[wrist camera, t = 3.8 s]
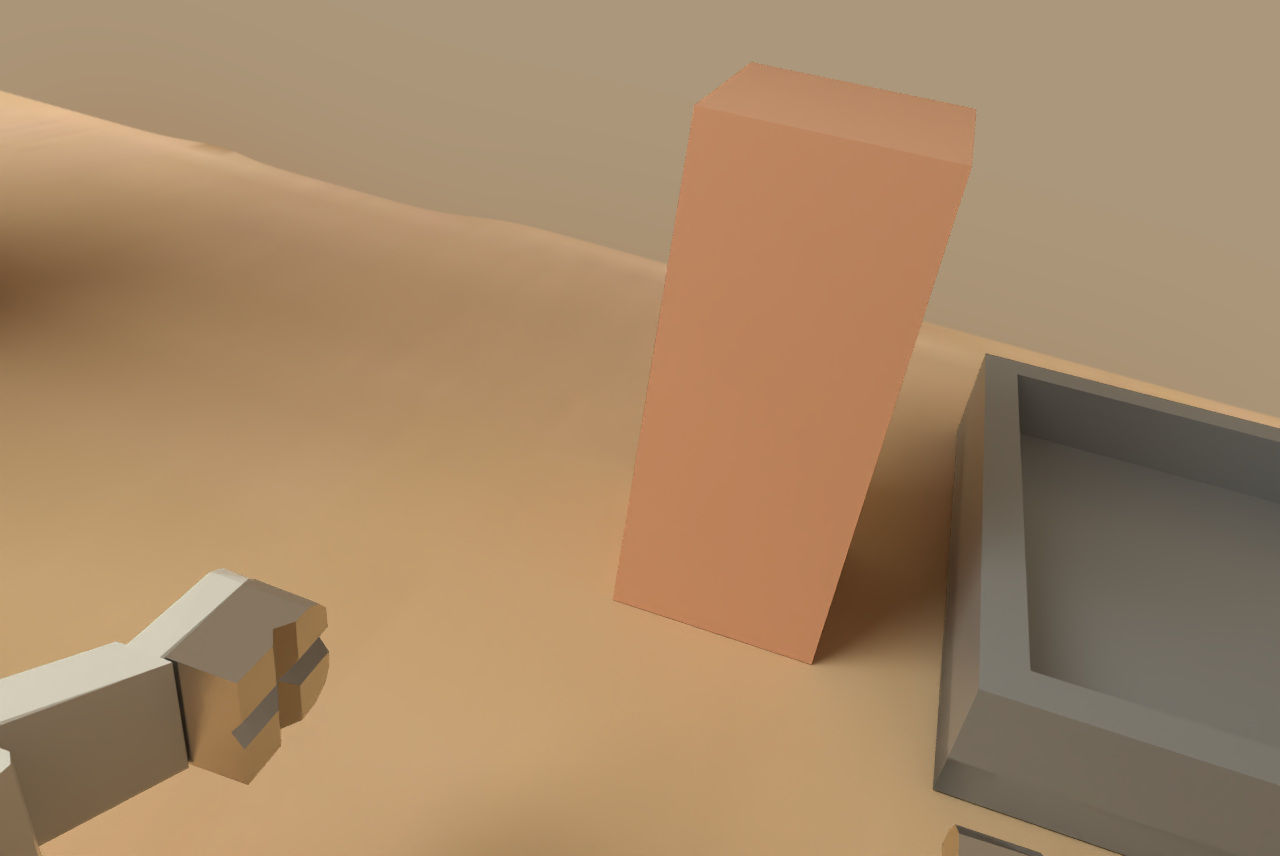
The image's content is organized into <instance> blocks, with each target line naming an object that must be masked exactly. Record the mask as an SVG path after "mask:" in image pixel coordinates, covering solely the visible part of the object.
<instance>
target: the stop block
mask: <svg viewBox="0 0 1280 856" xmlns="http://www.w3.org/2000/svg"><path fill="white" fill-rule="evenodd" d="M975 121H976V109H973V108H968V107H963V106H959V105H954V104H949V103H944V102H940V101H935V100H930V99H925V98H920V97H916V96H911V95H906V94H901V93H896V92H892V91H887V90H882V89H877V88H873V87H868V86H862V85H858V84H853V83H849V82H843V81H839V80H834V79H829V78H825V77H820V76H815V75H810V74H805V73H800V72H795V71H791V70H786V69H781V68H776V67H772V66H767V65H762V64H757V63H753V62H751V63H750V64H749V65H747V66H746V67H744V68H743V69H742V70H740V71H739V72H738V73H736V74H735V75H734V76H733V77H731V78H730V79H729V80H727V81H726V82H725V83H723V84H722V85H721V86H719V87H718V88H717V89H715V90H714V91H713V92H711V93H710V94H709V95H707V96H706V97H705V98H703V99H702V100H701V101H699V102H698V103H697V104H695V105H694V110H693V116H692V122H691V128H690V135H689V141H688V147H687V153H686V159H685V165H684V171H683V177H682V183H681V190H680V195H679V201H678V207H677V214H676V220H675V226H674V232H673V238H672V244H671V251H670V256H669V262H668V268H667V274H666V280H665V287H664V293H663V299H662V305H661V311H660V317H659V323H658V329H657V335H656V341H655V347H654V353H653V360H652V366H651V372H650V378H649V384H648V390H647V396H646V402H645V408H644V414H643V420H642V426H641V433H640V439H639V445H638V451H637V457H636V463H635V469H634V475H633V481H632V487H631V493H630V499H629V506H628V512H627V518H626V524H625V530H624V536H623V542H622V548H621V554H620V560H619V566H618V572H617V578H616V585H615V591H614V597H613V600H615V601H619V602H622V603H625V604H628V605H631V606H634V607H637V608H640V609H643V610H646V611H649V612H652V613H655V614H658V615H661V616H664V617H668V618H671V619H674V620H677V621H680V622H683V623H686V624H689V625H692V626H695V627H698V628H701V629H704V630H707V631H710V632H713V633H717V634H720V635H723V636H726V637H729V638H732V639H735V640H738V641H741V642H744V643H747V644H750V645H753V646H756V647H759V648H762V649H766V650H769V651H772V652H775V653H778V654H781V655H784V656H787V657H790V658H793V659H796V660H799V661H802V662H805V663H808V664H812V661H813V658H814V655H815V652H816V649H817V646H818V642H819V639H820V636H821V633H822V630H823V627H824V624H825V621H826V618H827V614H828V611H829V608H830V605H831V602H832V599H833V596H834V593H835V590H836V587H837V583H838V580H839V577H840V574H841V571H842V568H843V565H844V562H845V559H846V555H847V552H848V549H849V546H850V543H851V540H852V537H853V534H854V531H855V528H856V524H857V521H858V518H859V515H860V512H861V509H862V506H863V503H864V500H865V497H866V493H867V490H868V487H869V484H870V481H871V478H872V475H873V472H874V469H875V465H876V462H877V459H878V456H879V453H880V450H881V447H882V444H883V441H884V438H885V434H886V431H887V428H888V425H889V422H890V419H891V416H892V413H893V410H894V406H895V403H896V400H897V397H898V394H899V391H900V388H901V385H902V382H903V379H904V375H905V372H906V369H907V366H908V363H909V360H910V357H911V354H912V351H913V347H914V344H915V341H916V338H917V335H918V332H919V329H920V326H921V323H922V319H923V316H924V313H925V310H926V307H927V304H928V301H929V298H930V295H931V292H932V289H933V285H934V282H935V279H936V276H937V273H938V270H939V267H940V264H941V261H942V257H943V254H944V251H945V248H946V245H947V242H948V239H949V236H950V233H951V229H952V226H953V223H954V220H955V217H956V214H957V211H958V208H959V205H960V202H961V198H962V195H963V192H964V189H965V186H966V183H967V180H968V177H969V174H970V170H971V167H972V159H973V146H974V134H975Z"/></svg>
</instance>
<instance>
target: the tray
mask: <svg viewBox="0 0 1280 856" xmlns="http://www.w3.org/2000/svg"><path fill="white" fill-rule="evenodd" d="M933 790H936V791H939V792H942V793H945V794H948V795H951V796H954V797H957V798H960V799H962V800H965V801H968V802H971V803H974V804H977V805H980V806H983V807H986V808H989V809H992V810H994V811H997V812H1000V813H1003V814H1006V815H1009V816H1012V817H1015V818H1018V819H1021V820H1024V821H1026V822H1029V823H1032V824H1035V825H1038V826H1041V827H1044V828H1047V829H1050V830H1053V831H1056V832H1058V833H1061V834H1064V835H1067V836H1070V837H1073V838H1076V839H1079V840H1082V841H1085V842H1088V843H1090V844H1093V845H1096V846H1099V847H1102V848H1105V849H1108V850H1111V851H1114V852H1117V853H1120V854H1122V855H1125V856H1280V429H1279V428H1275V427H1271V426H1267V425H1263V424H1259V423H1256V422H1252V421H1248V420H1244V419H1240V418H1236V417H1232V416H1228V415H1224V414H1220V413H1217V412H1213V411H1209V410H1205V409H1201V408H1197V407H1193V406H1189V405H1185V404H1181V403H1178V402H1174V401H1170V400H1166V399H1162V398H1158V397H1154V396H1150V395H1146V394H1142V393H1138V392H1135V391H1131V390H1127V389H1123V388H1119V387H1115V386H1111V385H1107V384H1103V383H1099V382H1096V381H1092V380H1088V379H1084V378H1080V377H1076V376H1072V375H1068V374H1064V373H1060V372H1056V371H1053V370H1049V369H1045V368H1041V367H1037V366H1033V365H1029V364H1025V363H1021V362H1017V361H1014V360H1010V359H1006V358H1002V357H998V356H994V355H990V354H985V357H984V360H983V362H982V365H981V368H980V370H979V373H978V376H977V379H976V381H975V384H974V387H973V389H972V392H971V395H970V398H969V400H968V403H967V406H966V408H965V411H964V414H963V417H962V419H961V422H960V425H959V427H958V431H957V446H956V461H955V475H954V490H953V505H952V519H951V534H950V549H949V563H948V578H947V593H946V607H945V622H944V637H943V651H942V666H941V681H940V695H939V710H938V725H937V739H936V754H935V769H934V783H933Z"/></svg>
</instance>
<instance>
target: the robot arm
mask: <svg viewBox="0 0 1280 856" xmlns="http://www.w3.org/2000/svg"><path fill="white" fill-rule="evenodd" d="M327 627H328V624H327V613H326V607H324V606H322V605H320V604H318V603H316V602H313V601H310V600H308V599H305V598H302V597H300V596H297V595H295V594H292V593H289V592H287V591H284V590H281V589H279V588H276V587H274V586H271V585H268V584H266V583H263V582H260V581H258V580H255V579H251V578H249V577H246V576H243V575H241V574H238V573H235V572H232V571H230V570H227V569H224V568H220V569H217V570H214V571H212V572H209V573H208V574H207V575H205V576H204V577H203V578H202V579H201V580H200V581H199V582H197V583H196V584H195V585H194V586H193V587H192V588H191V589H190V590H188V591H187V592H186V593H185V594H184V595H183V596H182V597H180V598H179V599H178V600H177V601H176V602H175V603H174V604H172V605H171V606H170V607H169V608H168V609H167V610H166V611H164V612H163V613H162V614H161V615H160V616H159V617H158V618H156V619H155V620H154V621H153V622H152V623H151V624H150V625H148V626H147V627H146V628H145V629H144V630H143V631H142V632H140V633H139V634H138V635H137V636H136V637H135V638H134V639H132V640H131V641H130V642H129V643H128V644H127V645H126V644H123V643H120V642H117V641H116V642H113V643H110V644H107V645H104V646H101V647H98V648H95V649H92V650H89V651H86V652H82V653H79V654H76V655H73V656H70V657H67V658H64V659H61V660H58V661H55V662H52V663H49V664H45V665H42V666H39V667H36V668H33V669H30V670H27V671H24V672H21V673H18V674H15V675H11V676H8V677H5V678H2V679H0V856H42V855H41V852H40V849H39V846H40V845H42V844H44V843H46V842H48V841H50V840H52V839H54V838H56V837H57V836H59V835H61V834H63V833H65V832H67V831H69V830H71V829H73V828H75V827H77V826H78V825H80V824H82V823H84V822H86V821H88V820H90V819H92V818H94V817H96V816H97V815H99V814H101V813H103V812H105V811H107V810H109V809H111V808H113V807H115V806H117V805H118V804H120V803H122V802H124V801H126V800H128V799H130V798H132V797H134V796H136V795H138V794H139V793H141V792H143V791H145V790H147V789H149V788H151V787H153V786H155V785H157V784H159V783H160V782H162V781H164V780H166V779H168V778H170V777H172V776H174V775H176V774H178V773H180V772H181V771H183V770H185V769H187V768H188V767H189V764H191V765H194V766H197V767H200V768H202V769H205V770H208V771H211V772H213V773H216V774H219V775H222V776H225V777H227V778H230V779H233V780H236V781H238V782H241V783H244V784H247V785H249V784H250V782H251V781H252V780H253V779H254V778H255V776H256V775H257V774H258V773H259V772H260V770H261V769H262V768H263V767H264V766H265V764H266V763H267V762H268V761H269V760H270V758H271V757H272V756H273V755H274V753H275V752H276V751H277V750H278V749H279V747H280V746H281V729H282V728H284V727H286V726H289V725H291V724H294V723H296V722H298V721H301V720H302V719H303V718H304V717H305V716H306V714H307V713H308V712H309V711H310V709H311V708H312V707H313V706H314V704H315V703H316V701H317V699H318V697H319V695H320V693H321V691H322V688H323V686H324V684H325V682H326V678H327V673H328V668H329V651H328V650H327V648H326V647H325V645H324V644H323V642H322V641H321V639H320V638H319V636H320V635H321V634H322V633H323V631H324V630H325V629H326V628H327ZM188 763H189V764H188ZM942 856H1042V854H1041V853H1039V852H1036V851H1033V850H1030V849H1027V848H1024V847H1021V846H1018V845H1015V844H1012V843H1009V842H1006V841H1003V840H1000V839H997V838H994V837H991V836H988V835H985V834H982V833H979V832H976V831H973V830H970V829H967V828H964V827H961V826H958V825H954V826H953V827H952V828H951V829H950V830H949V832H948V834H947V836H946V838H945V840H944V842H943V844H942ZM1043 856H1046V855H1043Z"/></svg>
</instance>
